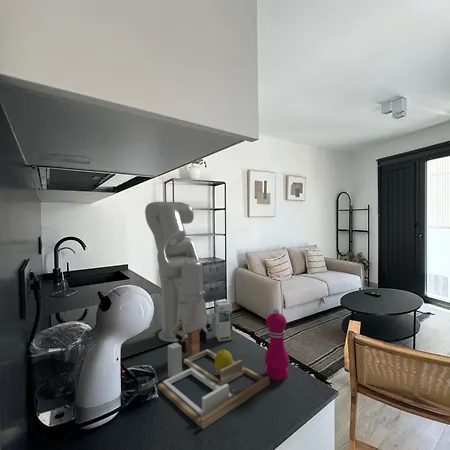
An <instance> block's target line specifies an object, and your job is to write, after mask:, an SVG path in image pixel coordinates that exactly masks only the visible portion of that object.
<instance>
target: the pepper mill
mask: <svg viewBox="0 0 450 450" xmlns="http://www.w3.org/2000/svg"><path fill="white" fill-rule="evenodd" d="M287 323H288V322H287V319H286V317H285V316H284V315H283V314H281V313H280V310H279V309H278V308H273V311H272V313H270V314H269V315H267V318H266V323H265V324H266V327H267V328H268V329H267V330H268V332H267V333H268V336H269V345H268V348H267V350H266V351H265V356H264V363H265V364H266V376H268V377H269V379H271V380H274V381H283V380H286V379H288V376H289V369H288V367H289V366H290V365H289V364H290V357H289V354H288V352H287V349H286V348H285V344H284V337H285V336H286V333H285V332H286V330H285V329H286V327H287Z"/></svg>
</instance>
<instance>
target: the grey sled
mask: <svg viewBox="0 0 450 450" xmlns="http://www.w3.org/2000/svg"><path fill="white" fill-rule="evenodd" d="M182 355H183V354H182V346H181V345H180V344H179V342H172V343H171V344H168V345H167V377H169V378H167V379H164V380H162V384H163V385H164V386H166V387H167V388H168V389H169V390H170V391H171V392H172V393H174V394H175V395H176V396H177V397H178V398H179V399H180V400H182V401H183V402H184V403H185V404H186V405H187V406H188V407H190V408H191V409H192V410H193V411H194V412H195V413H197V414H198V415H199V416H200V417H201V418H202V417H203V416H205V415H206V414H208V413H209V412H211V411H212V410H214V409H216V408H217V407H219V406H220V405H222V404H223V403H225V402H227V401H228V400H230V399H231V398H232V395H231V394H230V393H231V392H230V385H229V383H227V384H224V385H223V386H221V387H219V386H218V385H217V384H215V383H214V382H212V381H211V380H209V379H208V378H206V377H205V376H203V375H202V374H200V373H199V372H197V371H196V370H194V369H193V368H190V367H189V368H188V369H186V370H183V362H182V361H183V359H182V358H183V356H182ZM190 375H191V376H193V377H194V378H196V379H197V380H198V381H200V382H201V383H203V384H204V385H206V386H207V387H209V388H210V389H211V390H212V391H211V392H209V393H207V394H205V395H204V396H202V397H201V408H200V406H198V405H197V404H195V402H193V401H192V400H190V398H188V397H187V396H186V395H185V394H184V393H182V392H181V391H180V390H179V389H177V388H176V387H175V385H172V384H173V383H176V382H178V381H180V380H182V379H184V378H186V377H189V376H190ZM229 392H230V393H229Z"/></svg>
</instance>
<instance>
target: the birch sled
mask: <svg viewBox="0 0 450 450" xmlns="http://www.w3.org/2000/svg"><path fill="white" fill-rule="evenodd" d="M199 332H200V329H199V330H196V331H193V332H190V333H187V338H186V353H187V357H186V358H184V359H183V364H185V365H186V366H188V367H189V369H190V368H195V369H196V370H198V371H199V372H201V373H202V374H204V375H205V376H207V377H208V378H210V379H211V380H213V381H214V382H215V383H217V384H218V385H220V386H223V385H224V384H229V383H230V382H232V381H234V380H236V379H238V378H239V377H241V376H243V375H244V374H245V369H243V368H242V366H243V360H241V359H238V360H236V361H235V362H234V363H232V364H230V365H228V366H227V367H225V368H223V369H221V370H220V374H219V378H217V377H216V376H215V375H213V374H211V373H209V372H208V371H207V370H205V369H204V368H202V367H200V366H199V365H197V364H196V363H194V361H196V360H198V359H200V358H202V357H205V356H209V357H211V358H212V359H214V360H215V357H216V355H217V353H215V352H214V351H212V350H210V349H208V348H207V349H205V350H202V351H201V350H200V348H201V347H200V337H199Z"/></svg>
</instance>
